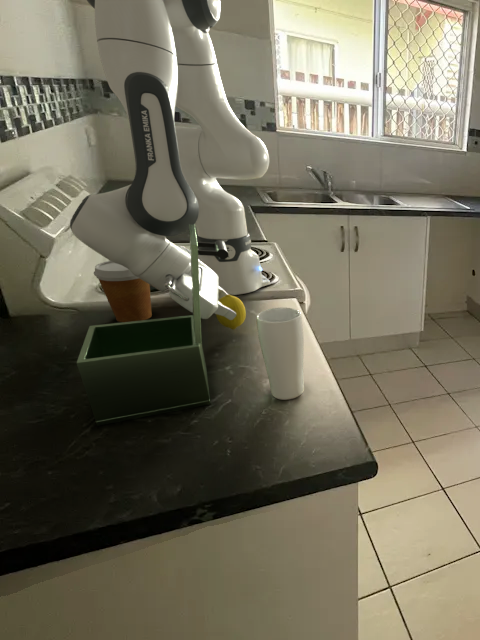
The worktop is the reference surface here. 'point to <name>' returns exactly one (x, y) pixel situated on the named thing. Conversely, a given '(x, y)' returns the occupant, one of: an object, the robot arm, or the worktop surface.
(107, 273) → the disposable coffee cup
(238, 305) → the lemon
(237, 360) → the worktop surface
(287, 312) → the drinking glass
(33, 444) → the worktop surface
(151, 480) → the worktop surface
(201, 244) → the lid
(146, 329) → the green tapered box
